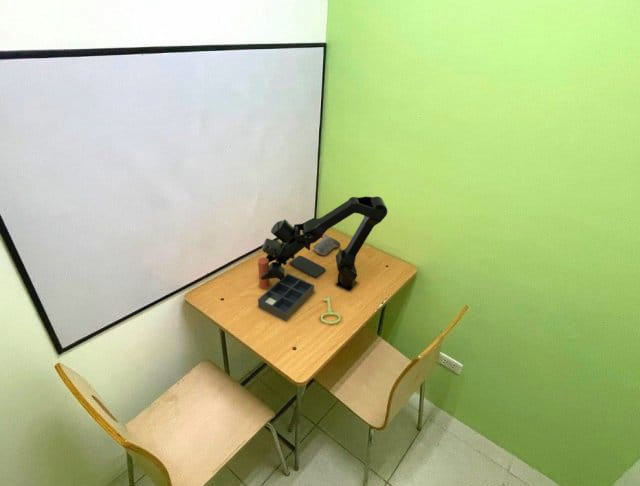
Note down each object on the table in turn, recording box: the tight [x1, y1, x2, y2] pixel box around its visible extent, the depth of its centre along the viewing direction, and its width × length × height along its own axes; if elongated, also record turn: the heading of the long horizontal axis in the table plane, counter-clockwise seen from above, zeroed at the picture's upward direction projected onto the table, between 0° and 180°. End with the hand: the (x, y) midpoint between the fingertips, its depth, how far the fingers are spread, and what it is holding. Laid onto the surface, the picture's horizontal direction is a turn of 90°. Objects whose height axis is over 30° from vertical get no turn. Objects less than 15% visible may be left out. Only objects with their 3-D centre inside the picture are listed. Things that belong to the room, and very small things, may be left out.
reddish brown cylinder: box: [257, 256, 271, 290], centre depth 144 cm, size 4×4×12 cm
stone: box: [312, 234, 341, 256], centre depth 168 cm, size 12×5×10 cm
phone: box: [289, 255, 326, 279], centre depth 158 cm, size 7×1×15 cm
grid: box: [257, 272, 315, 322], centre depth 141 cm, size 13×19×4 cm
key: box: [320, 296, 342, 325], centre depth 137 cm, size 7×12×2 cm, turn 23°
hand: (262, 271), depth 143 cm, fingers open, 9 cm apart
